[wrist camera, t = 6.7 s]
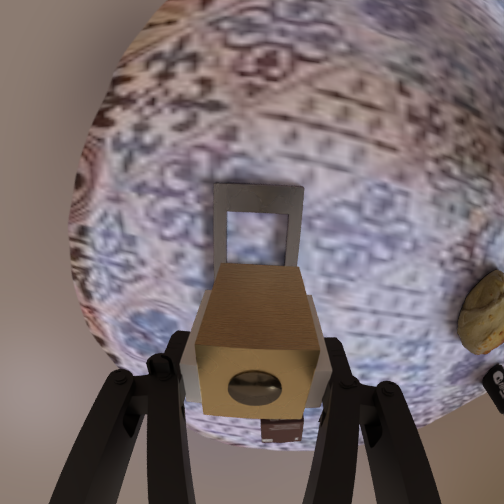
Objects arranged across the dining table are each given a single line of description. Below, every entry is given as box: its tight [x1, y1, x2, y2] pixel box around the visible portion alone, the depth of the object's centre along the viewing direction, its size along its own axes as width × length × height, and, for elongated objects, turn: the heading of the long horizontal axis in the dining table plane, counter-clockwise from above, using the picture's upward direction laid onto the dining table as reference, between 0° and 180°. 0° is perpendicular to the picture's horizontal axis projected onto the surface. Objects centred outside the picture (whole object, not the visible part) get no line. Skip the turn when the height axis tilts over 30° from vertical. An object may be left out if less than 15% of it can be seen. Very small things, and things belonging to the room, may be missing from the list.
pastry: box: [457, 270, 504, 355], centre depth 30 cm, size 14×12×8 cm
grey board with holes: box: [214, 182, 304, 282], centre depth 32 cm, size 26×9×1 cm, turn 178°
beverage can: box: [483, 365, 504, 414], centre depth 35 cm, size 7×7×12 cm
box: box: [261, 415, 304, 443], centre depth 36 cm, size 6×6×7 cm
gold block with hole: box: [194, 263, 321, 419], centre depth 15 cm, size 5×5×8 cm
